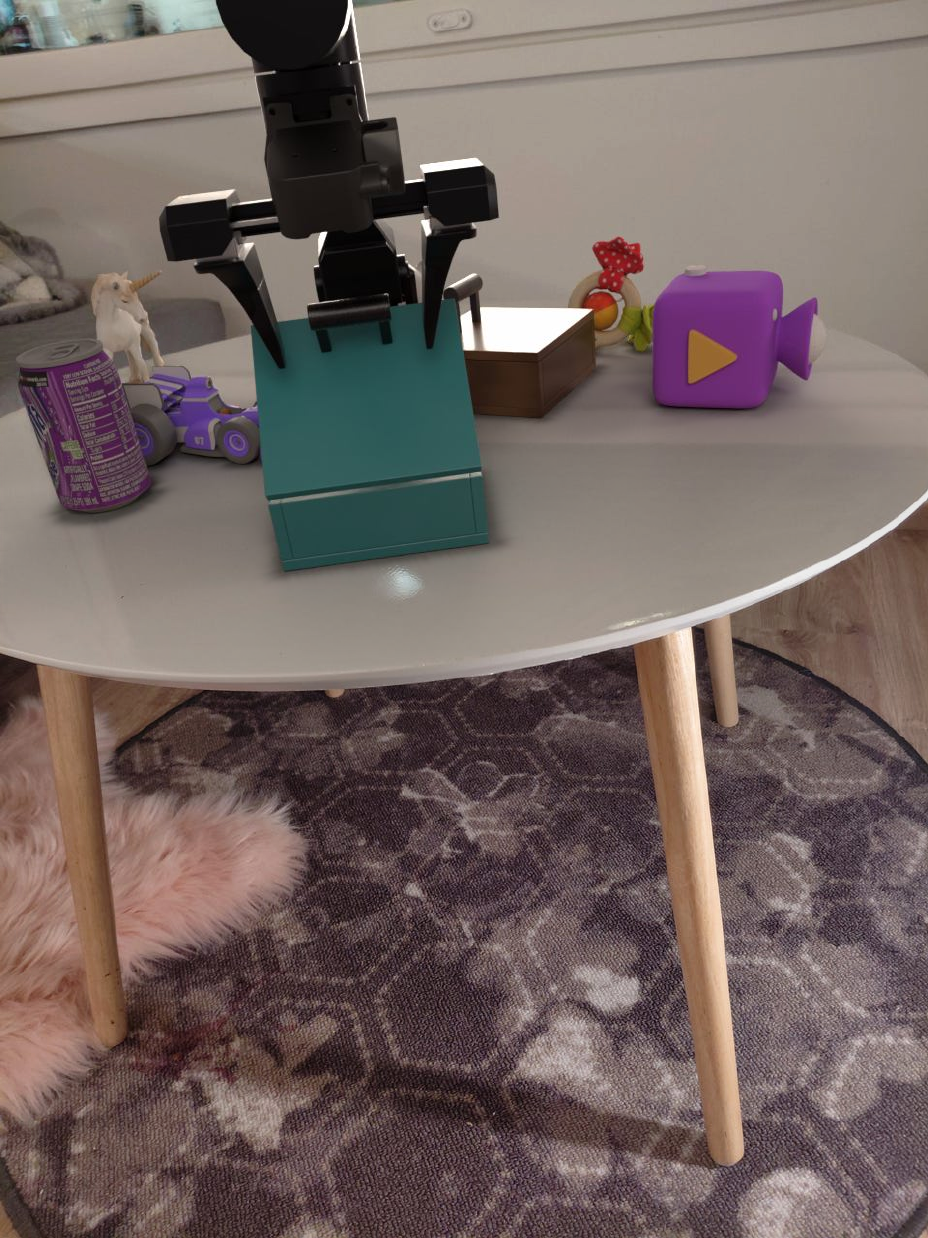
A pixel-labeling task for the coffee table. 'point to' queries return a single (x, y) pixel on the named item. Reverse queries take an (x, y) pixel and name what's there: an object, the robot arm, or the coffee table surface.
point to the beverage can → (83, 425)
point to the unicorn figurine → (124, 321)
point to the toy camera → (728, 338)
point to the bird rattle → (616, 266)
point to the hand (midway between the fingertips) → (356, 357)
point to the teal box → (380, 521)
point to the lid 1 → (363, 399)
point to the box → (532, 378)
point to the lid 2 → (511, 326)
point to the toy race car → (190, 418)
